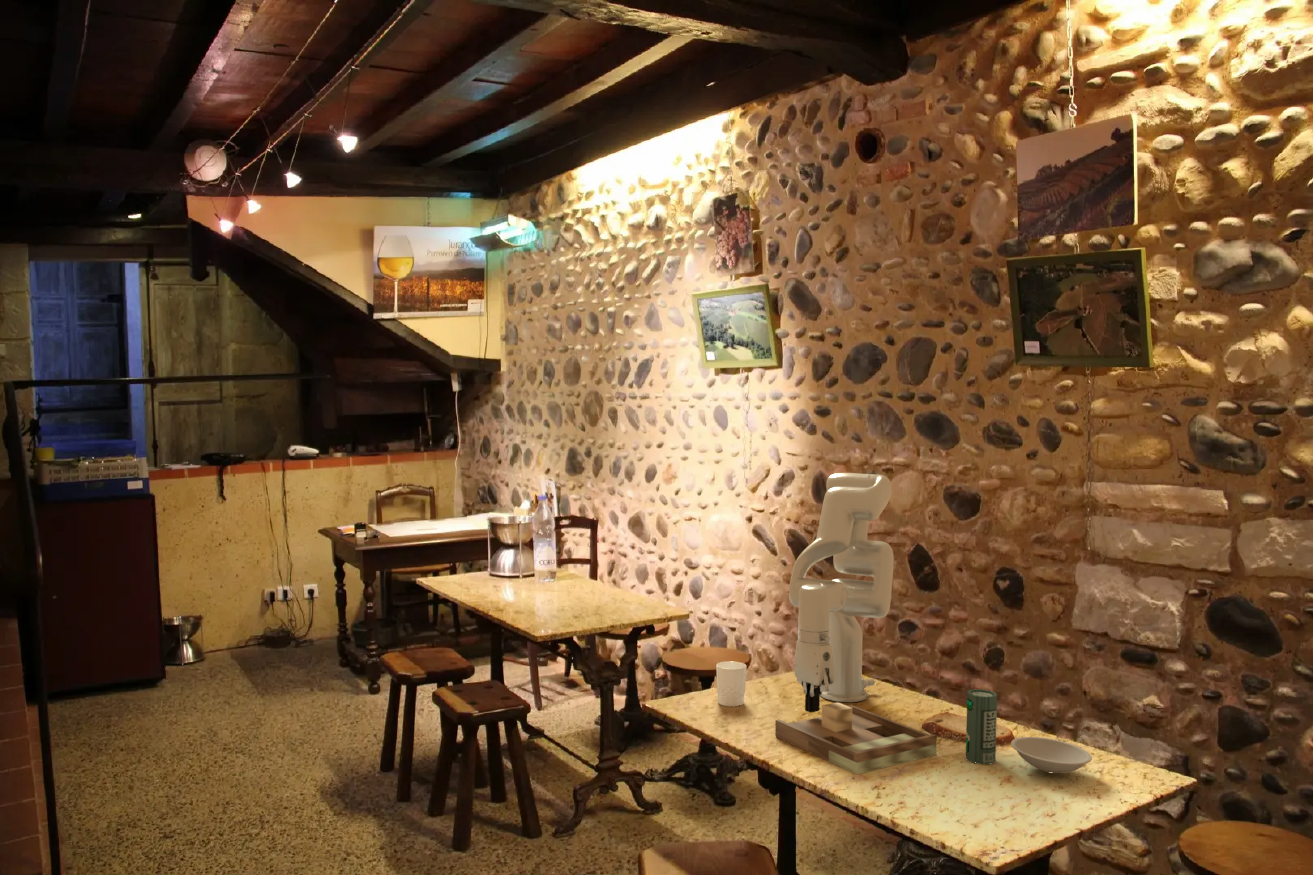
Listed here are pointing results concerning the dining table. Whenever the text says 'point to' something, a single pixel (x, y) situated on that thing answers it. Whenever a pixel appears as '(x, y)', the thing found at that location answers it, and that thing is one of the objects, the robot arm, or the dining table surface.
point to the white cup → (731, 683)
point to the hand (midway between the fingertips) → (812, 710)
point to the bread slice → (960, 728)
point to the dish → (1051, 754)
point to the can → (981, 726)
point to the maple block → (836, 717)
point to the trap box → (860, 741)
